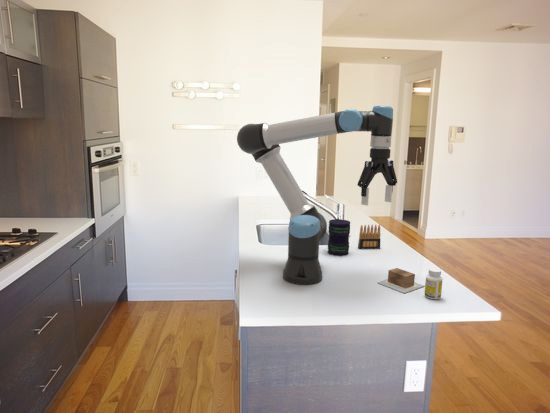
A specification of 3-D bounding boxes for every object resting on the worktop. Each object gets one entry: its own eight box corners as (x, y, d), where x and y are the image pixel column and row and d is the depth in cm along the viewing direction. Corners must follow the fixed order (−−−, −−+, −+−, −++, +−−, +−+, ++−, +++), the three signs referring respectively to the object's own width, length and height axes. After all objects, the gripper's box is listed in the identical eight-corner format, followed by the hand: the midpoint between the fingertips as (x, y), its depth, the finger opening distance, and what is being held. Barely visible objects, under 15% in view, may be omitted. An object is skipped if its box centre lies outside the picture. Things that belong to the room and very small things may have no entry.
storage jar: (348, 256, 187) (350, 224, 184) (326, 255, 189) (328, 223, 186) (349, 250, 197) (350, 219, 194) (328, 249, 198) (329, 218, 196)
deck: (387, 281, 156) (388, 270, 155) (395, 279, 159) (396, 267, 158) (405, 288, 150) (406, 276, 149) (413, 285, 153) (414, 274, 152)
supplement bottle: (436, 293, 147) (439, 267, 145) (443, 299, 142) (446, 272, 140) (421, 293, 147) (424, 267, 145) (427, 299, 141) (430, 272, 139)
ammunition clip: (359, 249, 199) (360, 225, 197) (357, 248, 201) (359, 224, 199) (380, 248, 201) (382, 224, 198) (378, 247, 202) (380, 223, 200)
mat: (404, 293, 146) (404, 292, 146) (377, 283, 156) (377, 281, 155) (424, 286, 153) (424, 285, 153) (397, 277, 163) (397, 275, 162)
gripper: (365, 148, 146) (361, 207, 150) (409, 148, 160) (404, 201, 164) (349, 147, 152) (346, 204, 156) (393, 147, 166) (389, 199, 170)
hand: (376, 203), depth 160 cm, fingers open, 13 cm apart
